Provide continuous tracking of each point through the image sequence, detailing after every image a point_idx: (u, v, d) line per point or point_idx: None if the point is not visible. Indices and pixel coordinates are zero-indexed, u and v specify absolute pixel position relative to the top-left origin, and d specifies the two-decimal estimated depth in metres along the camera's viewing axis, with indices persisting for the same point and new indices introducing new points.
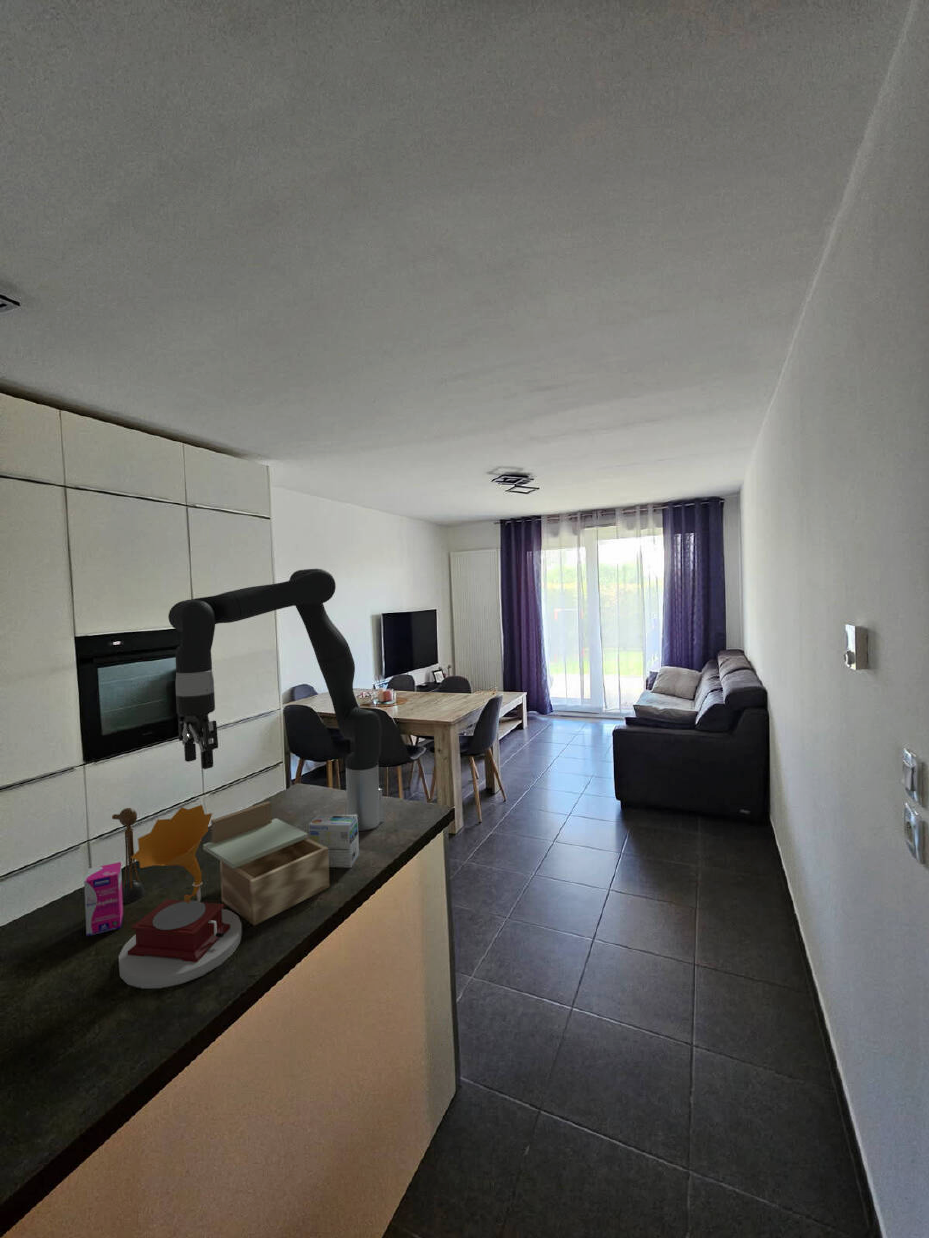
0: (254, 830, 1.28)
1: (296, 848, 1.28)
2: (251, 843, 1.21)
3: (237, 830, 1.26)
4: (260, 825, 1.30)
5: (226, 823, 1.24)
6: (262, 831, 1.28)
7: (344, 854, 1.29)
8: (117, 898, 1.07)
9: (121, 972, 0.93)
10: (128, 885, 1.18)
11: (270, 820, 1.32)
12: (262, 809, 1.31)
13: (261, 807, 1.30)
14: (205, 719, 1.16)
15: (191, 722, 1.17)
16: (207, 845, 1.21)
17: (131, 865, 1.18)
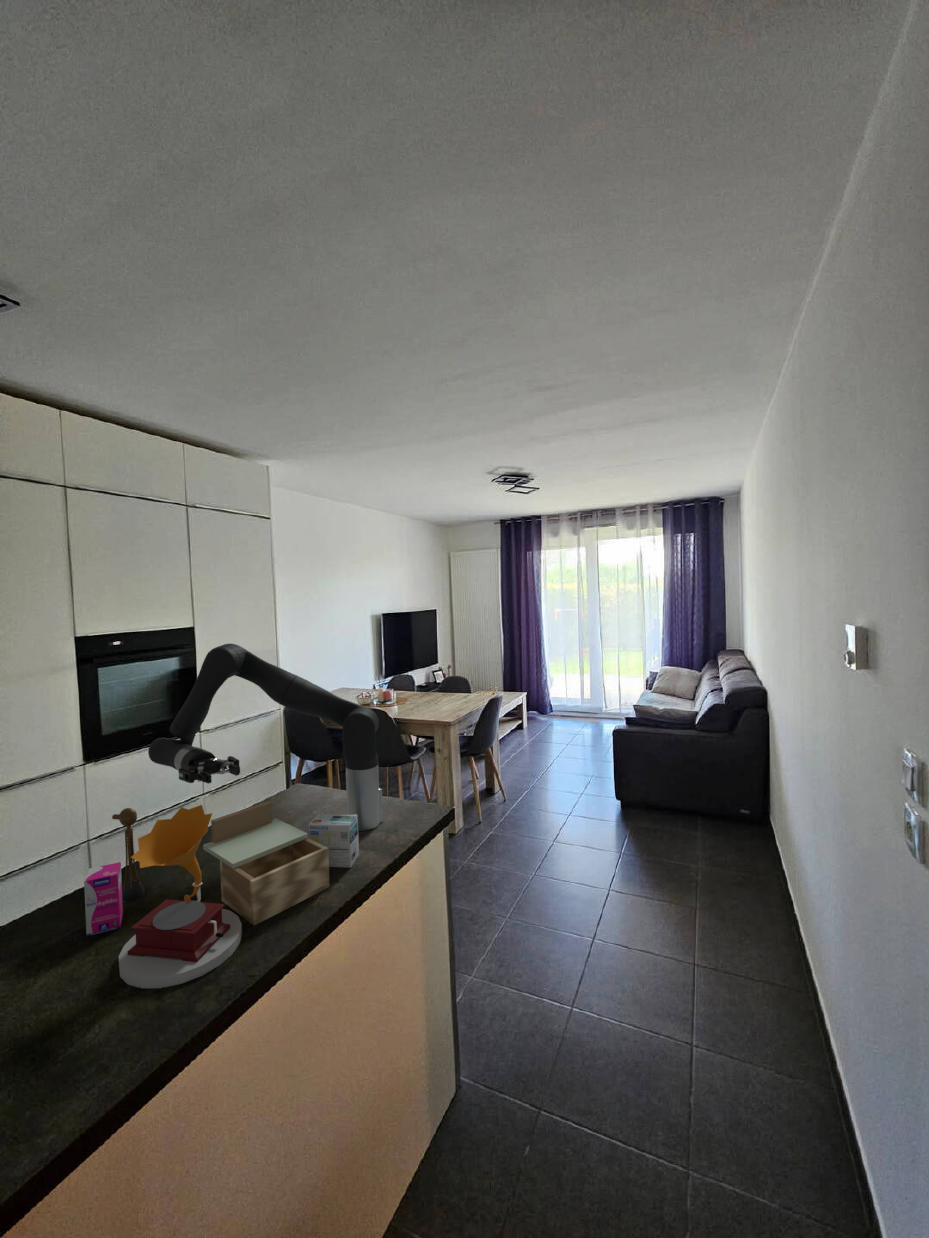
0: (254, 830, 1.28)
1: (296, 848, 1.28)
2: (251, 843, 1.21)
3: (237, 830, 1.26)
4: (260, 825, 1.30)
5: (226, 823, 1.24)
6: (262, 831, 1.28)
7: (344, 854, 1.29)
8: (117, 898, 1.07)
9: (121, 972, 0.93)
10: (128, 885, 1.18)
11: (270, 820, 1.32)
12: (262, 809, 1.31)
13: (261, 807, 1.30)
14: (189, 769, 1.36)
15: None
16: (207, 845, 1.21)
17: (131, 865, 1.18)
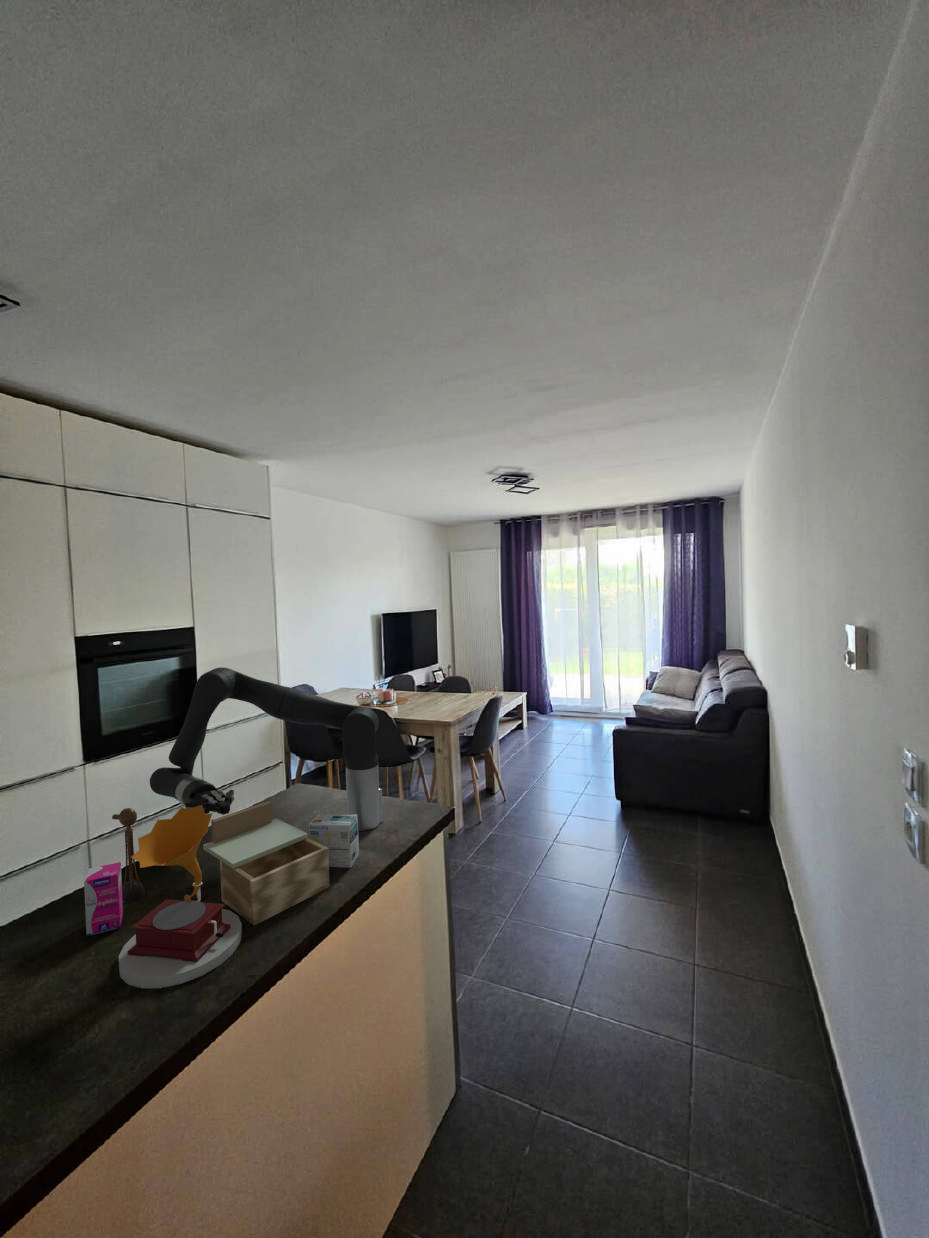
0: (254, 830, 1.28)
1: (296, 848, 1.28)
2: (251, 843, 1.21)
3: (237, 830, 1.26)
4: (260, 825, 1.30)
5: (226, 823, 1.24)
6: (262, 831, 1.28)
7: (344, 854, 1.29)
8: (117, 898, 1.07)
9: (121, 972, 0.93)
10: (128, 885, 1.18)
11: (270, 820, 1.32)
12: (262, 809, 1.31)
13: (261, 807, 1.30)
14: (190, 803, 1.36)
15: None
16: (207, 845, 1.21)
17: (131, 865, 1.18)
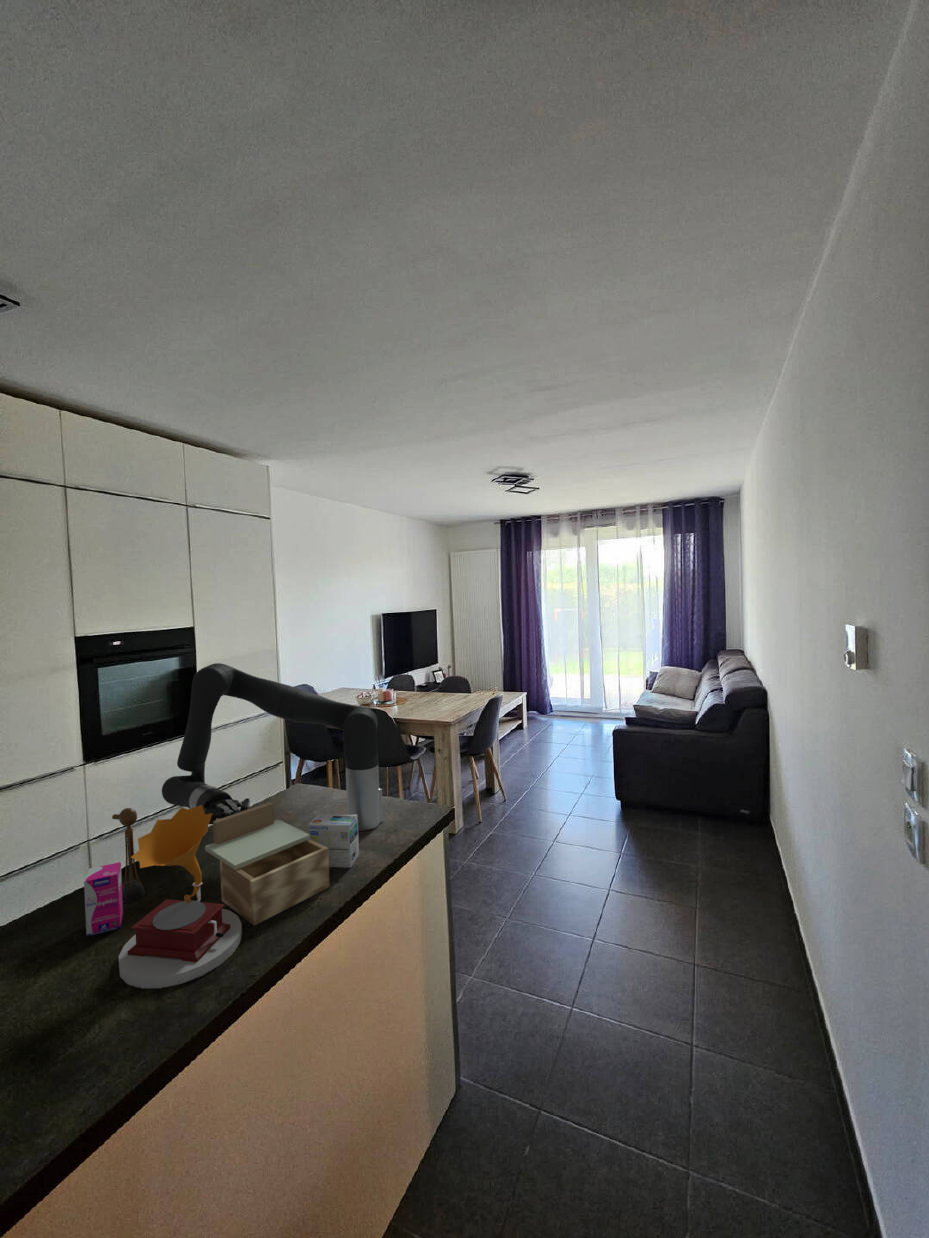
0: (256, 831, 1.28)
1: (296, 848, 1.28)
2: (253, 844, 1.21)
3: (239, 831, 1.25)
4: (262, 826, 1.30)
5: (228, 824, 1.23)
6: (264, 832, 1.27)
7: (344, 854, 1.29)
8: (117, 898, 1.07)
9: (121, 972, 0.93)
10: (128, 885, 1.18)
11: (272, 821, 1.32)
12: (264, 810, 1.30)
13: (263, 808, 1.30)
14: (205, 812, 1.31)
15: None
16: (209, 846, 1.20)
17: (131, 865, 1.18)
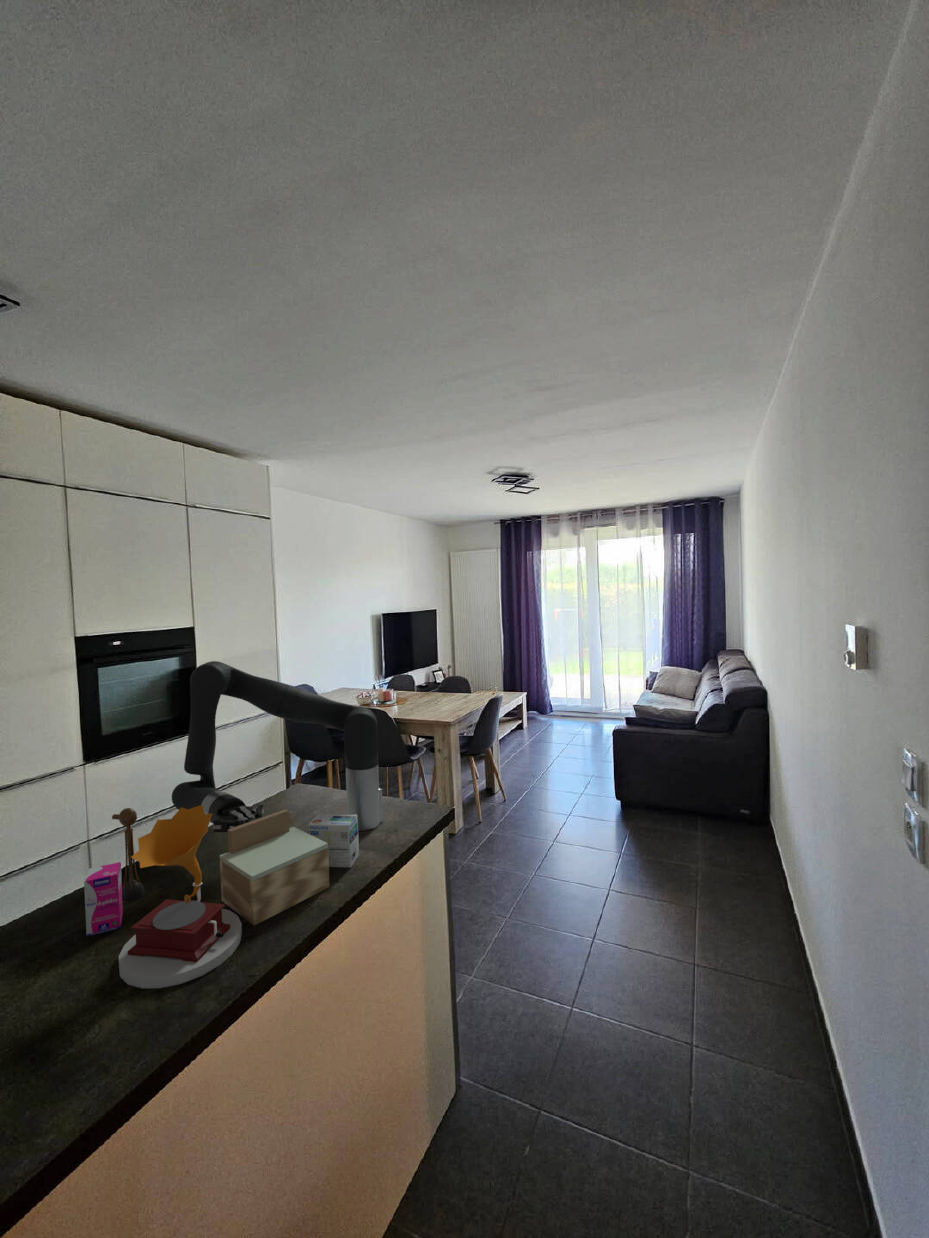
0: (272, 839, 1.23)
1: None
2: (269, 854, 1.16)
3: (254, 840, 1.21)
4: (278, 834, 1.25)
5: (243, 832, 1.19)
6: (280, 841, 1.22)
7: (344, 854, 1.29)
8: (117, 898, 1.07)
9: (121, 972, 0.93)
10: (128, 885, 1.18)
11: (288, 829, 1.27)
12: (280, 817, 1.25)
13: (279, 815, 1.25)
14: (218, 820, 1.27)
15: None
16: (224, 856, 1.16)
17: (131, 865, 1.18)
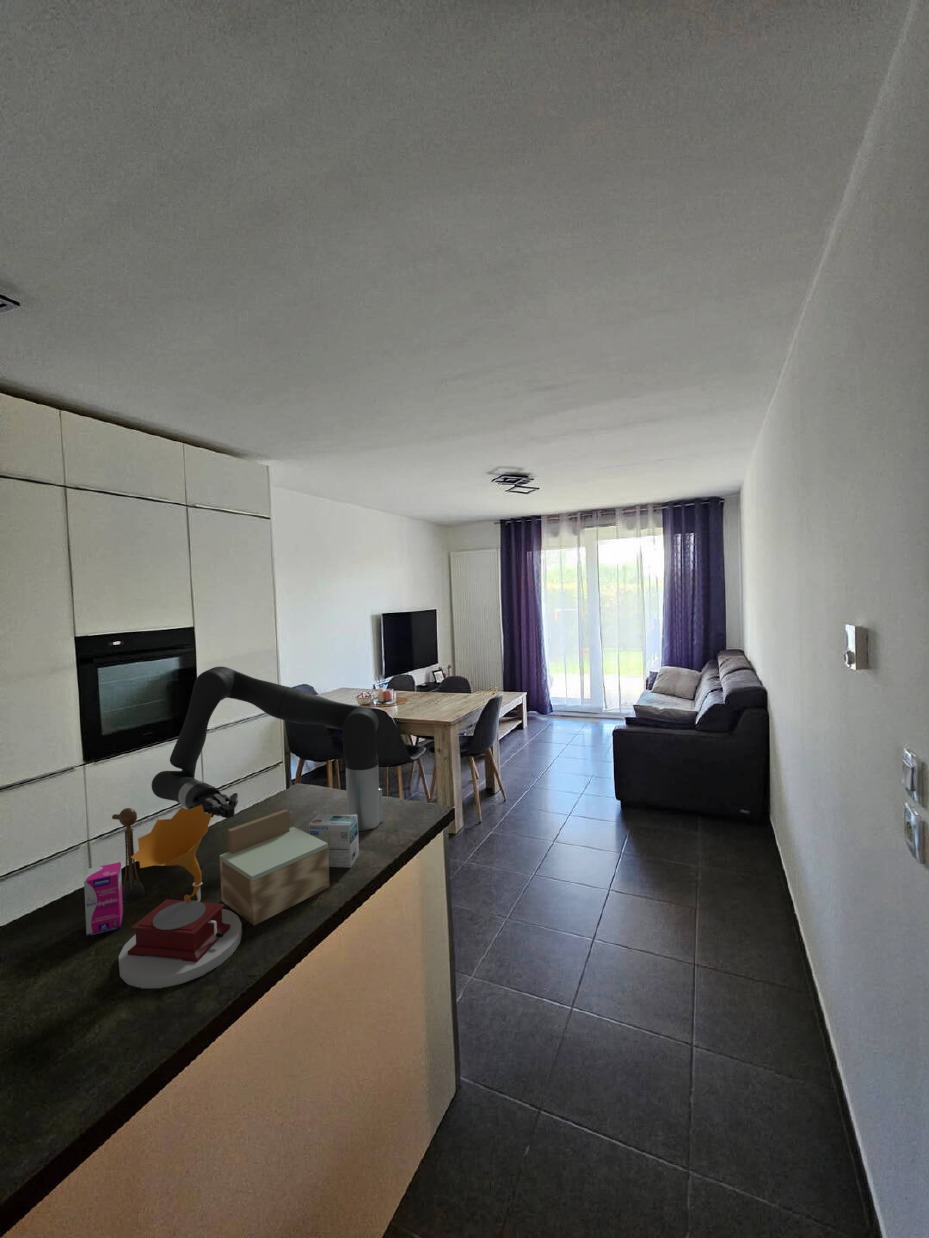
0: (272, 839, 1.23)
1: None
2: (269, 854, 1.16)
3: (254, 840, 1.21)
4: (278, 834, 1.25)
5: (243, 832, 1.19)
6: (280, 841, 1.22)
7: (344, 854, 1.29)
8: (117, 898, 1.07)
9: (121, 972, 0.93)
10: (128, 885, 1.18)
11: (288, 829, 1.27)
12: (280, 817, 1.25)
13: (279, 815, 1.25)
14: (193, 806, 1.35)
15: None
16: (224, 856, 1.16)
17: (131, 865, 1.18)
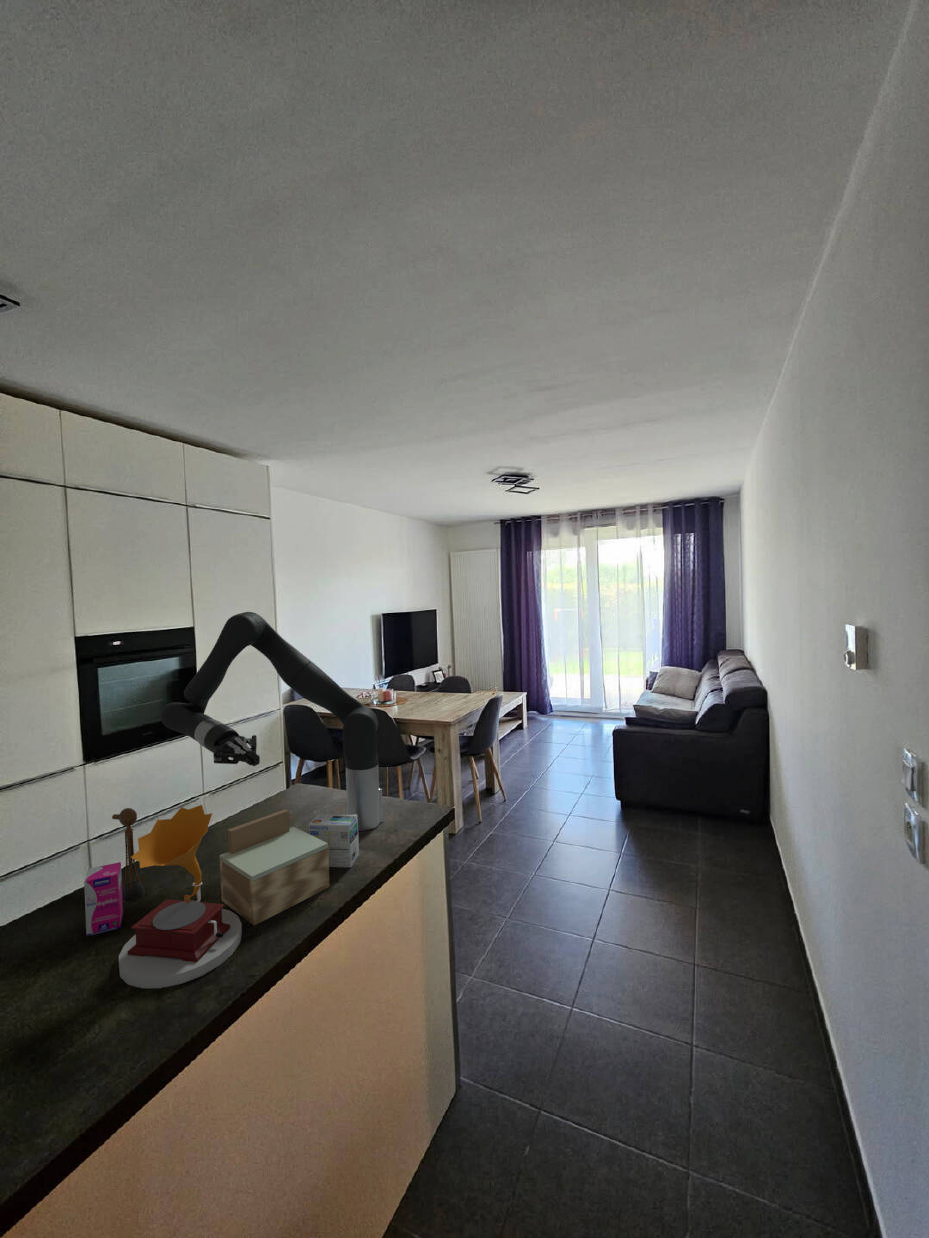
0: (272, 839, 1.23)
1: None
2: (269, 854, 1.16)
3: (254, 840, 1.21)
4: (278, 834, 1.25)
5: (243, 832, 1.19)
6: (280, 841, 1.22)
7: (344, 854, 1.29)
8: (117, 898, 1.07)
9: (121, 972, 0.93)
10: (128, 885, 1.18)
11: (288, 829, 1.27)
12: (280, 817, 1.25)
13: (279, 815, 1.25)
14: (216, 751, 1.38)
15: None
16: (224, 856, 1.16)
17: (131, 865, 1.18)
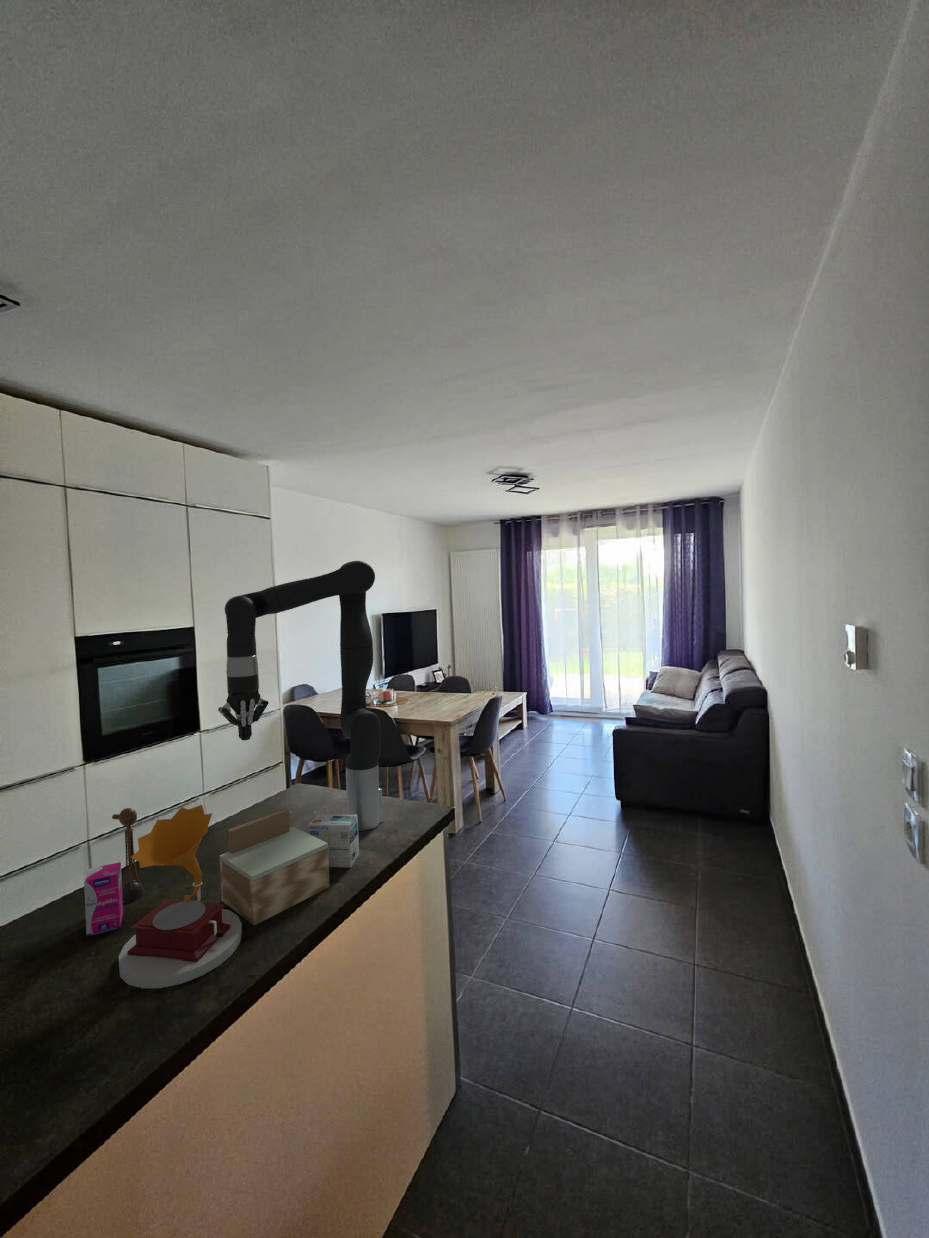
0: (272, 839, 1.23)
1: None
2: (269, 854, 1.16)
3: (254, 840, 1.21)
4: (278, 834, 1.25)
5: (243, 832, 1.19)
6: (280, 841, 1.22)
7: (344, 854, 1.29)
8: (117, 898, 1.07)
9: (121, 972, 0.93)
10: (128, 885, 1.18)
11: (288, 829, 1.27)
12: (280, 817, 1.25)
13: (279, 815, 1.25)
14: (228, 700, 1.35)
15: None
16: (224, 856, 1.16)
17: (131, 865, 1.18)
